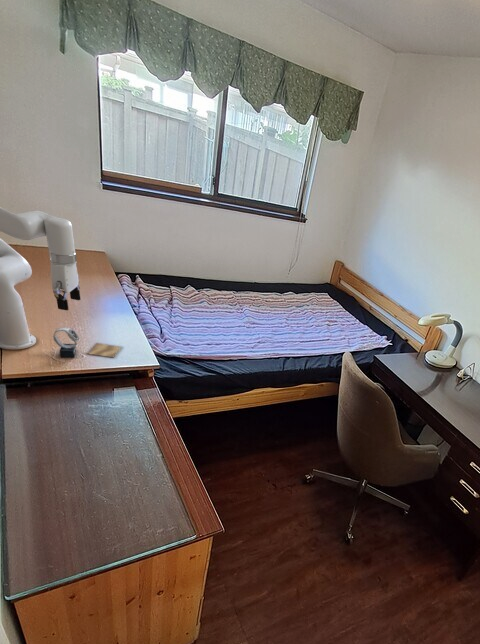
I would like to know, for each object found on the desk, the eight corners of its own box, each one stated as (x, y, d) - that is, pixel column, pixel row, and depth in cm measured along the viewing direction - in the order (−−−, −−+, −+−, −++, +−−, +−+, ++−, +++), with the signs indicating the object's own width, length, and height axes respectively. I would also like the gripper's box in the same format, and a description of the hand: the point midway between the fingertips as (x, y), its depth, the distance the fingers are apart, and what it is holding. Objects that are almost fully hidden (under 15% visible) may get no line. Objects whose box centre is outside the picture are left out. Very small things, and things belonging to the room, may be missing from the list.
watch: (80, 357, 150) (76, 332, 143) (55, 357, 146) (50, 331, 140) (81, 350, 154) (78, 326, 148) (58, 350, 150) (53, 324, 144)
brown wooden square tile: (87, 354, 153) (87, 353, 153) (96, 343, 160) (96, 343, 160) (113, 357, 155) (113, 357, 154) (121, 347, 162) (121, 346, 162)
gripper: (62, 248, 136) (69, 294, 145) (37, 262, 122) (46, 311, 131) (85, 253, 137) (90, 297, 147) (63, 267, 123) (70, 315, 133)
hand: (69, 304), depth 139 cm, fingers open, 9 cm apart
